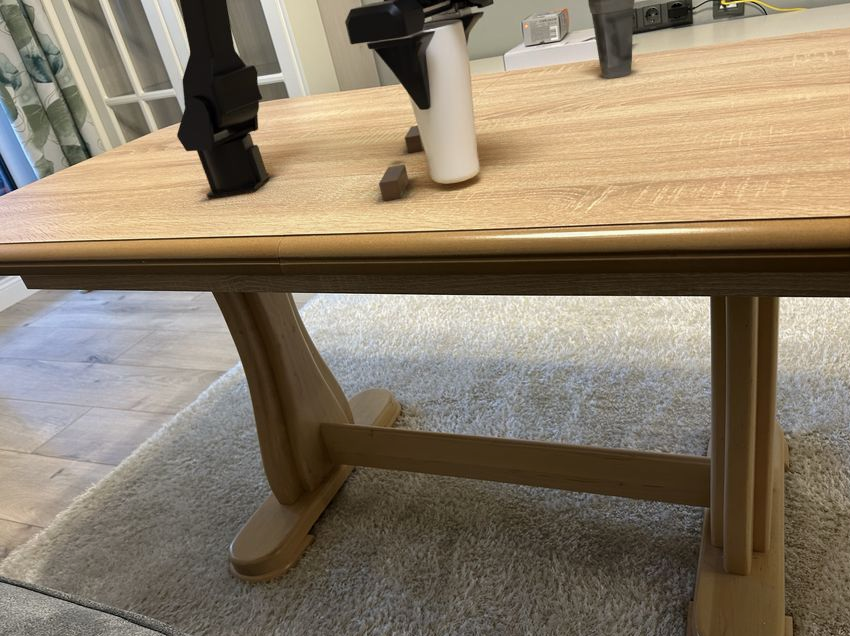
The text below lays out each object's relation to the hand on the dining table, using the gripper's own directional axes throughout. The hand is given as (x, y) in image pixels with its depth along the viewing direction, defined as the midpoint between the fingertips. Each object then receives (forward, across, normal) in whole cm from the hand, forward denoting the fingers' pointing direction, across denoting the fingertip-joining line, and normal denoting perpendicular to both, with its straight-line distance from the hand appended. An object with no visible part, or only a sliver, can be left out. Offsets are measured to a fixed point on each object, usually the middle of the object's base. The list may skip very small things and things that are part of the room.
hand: (441, 100), depth 72 cm
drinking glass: (+8, 0, 0) cm, 8 cm away
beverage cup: (+9, +50, -3) cm, 51 cm away
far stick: (+9, +16, +14) cm, 23 cm away
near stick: (+9, -2, +7) cm, 11 cm away
